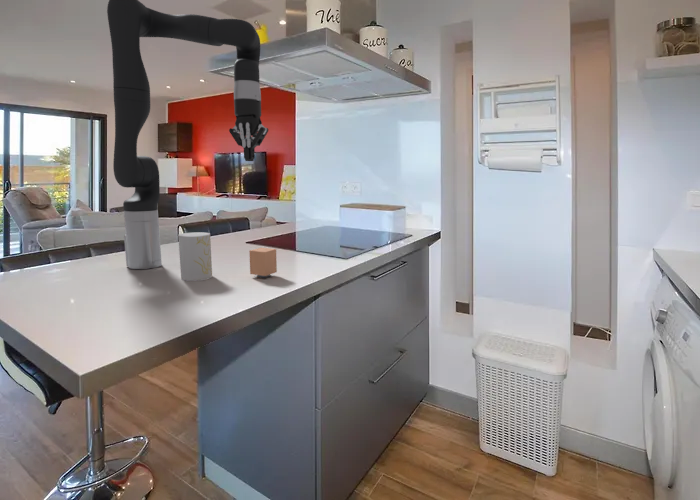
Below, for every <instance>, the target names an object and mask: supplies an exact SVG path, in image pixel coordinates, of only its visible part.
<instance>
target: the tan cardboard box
mask: <svg viewBox="0 0 700 500" xmlns="http://www.w3.org/2000/svg"><path fill="white" fill-rule="evenodd" d="M277 263H278V262H277V249H276V248H267V247H258V248H255V249H249V274H250V275H255V276H257V275H262V276H267V275H270V276H271V275H273V274H275V273H277V272H278V270H277V269H278V268H277V267H278V266H277Z"/></svg>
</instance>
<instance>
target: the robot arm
mask: <svg viewBox="0 0 700 500" xmlns="http://www.w3.org/2000/svg"><path fill="white" fill-rule="evenodd" d="M106 9H107V11H106V13H107V21H108V27H109V36H110V42H111V53H112V76H113V81H112V82H113V104H114V105H113V107H114V148H113V149H114V150H113V163H112V164H113V169H112V170H113V175H114V178H115V181H116V182H117V184H118V185H120V187H123V188H134V193H133V194H132V195H131V197H129V198H126V200H124V201H123V205H122V206H123V207H122V208H123V218H124V228H125V230H124V231H125V235H124V236H123V242H124V251H125V253H124V254H125V262H126V267H128V268H129V269H132V270H147V269H155V268H159V267H161V266H162V265H163V264H162V263H163V261H162V248H161V236H160V235H161V234H160V221H159V209H158V208H159V202H160V198H161V197H160V196H161V191H160V189H161V187H160V170H159V166H158V164H157V162H156V160H155V159H154V158H152V157H150V156H146V155H138V138H139V135H140V133H141V130H142V129H143V127H144V125H145V123H146V122H147V120H148V118H149V115H150V113H151V88H150V81H149V78H148V75H147V71H146V67H145V65H144V61H143V60H142V59H143V58H142V54H141V47H140V46H141V45H140V43H141V41H140V38H164V39H165V38H167V39H176V40H181V41H182V40H183V41H185V42H191V43H192V42H193V43H197V44H203V45H207V46H213V47H221V46H223V45H226V46H233V47H236V61H235V62H234V64H233V78H234V79H233V80H234V83H233V107H234V116H235V118H236V119H235V121H234V122H235V123H234V124H235V125H234V126H233V127H232V128H229V130H228V131H229V133H230V135H231V137H232V138H233V139H234V141H235V142H236V144H237V145H238V147H239V146H240V147H242V148H243V159H244V160H245V162H254V160H255V158H256V155H255V152H256V151H255V148H256V147H259V146H261V144H262V142H264V139H265V137H266V135H267V134H268V132H269V128H268V127H265V126H264V125H263V124H262V123H263V122H262V119H261V116H262V94H261V93H262V91H261V85H260V82H261V81H260V59H261V58H260V56H261V39H260V36H259V34H258V32H257V30H256V29H255V27H254V25H253V24H252V23H250V22H248V21H247V20H243V19H238V18H215V17H213V16H212V17H211V16H205V15H201V14H192V13H191V14H190V13H187V14H186V13H185V14H170V13H164V12H160V11H158V10H154V9H152V8H149V7H147V6H146V5H145V4H144V3H142V2H141V1H139V0H108V3H107V7H106Z"/></svg>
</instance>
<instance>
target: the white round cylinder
mask: <svg viewBox="0 0 700 500" xmlns="http://www.w3.org/2000/svg"><path fill="white" fill-rule="evenodd" d="M177 235H178V248H179V249H178V251H179V266H180V267H179V268H180V279H181V280H183V281H185V282H186V281H188V282H198V281H204V280H205V279H206V280H209V279H211V278H213V267H212V265H213V264H212V249H211V248H212V245H211V244H212V243H211V242H212V241H211V233H210V232H203V231H202V232H201V231H200V232H199V231H197V232H194V231H193V232H183V233H179V234H177ZM206 280H205V281H206Z"/></svg>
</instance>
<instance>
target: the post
mask: <svg viewBox="0 0 700 500" xmlns="http://www.w3.org/2000/svg"><path fill="white" fill-rule="evenodd" d="M269 277H271V274H270V275H267V276H262V275H256V278H262V279H266V278H269Z"/></svg>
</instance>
